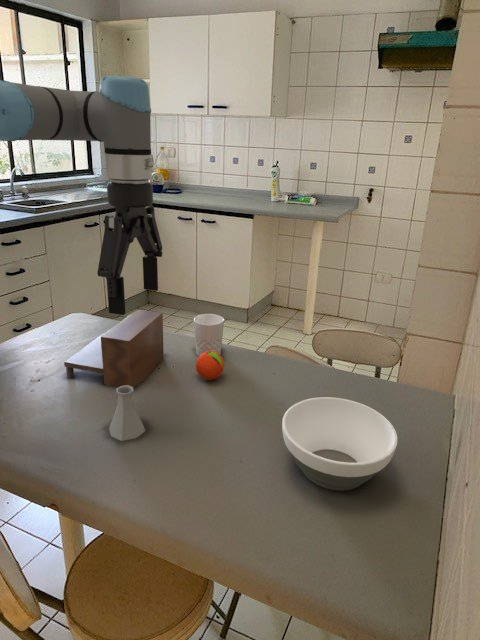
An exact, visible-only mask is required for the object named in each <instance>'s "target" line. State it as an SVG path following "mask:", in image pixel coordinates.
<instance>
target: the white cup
mask: <svg viewBox="0 0 480 640" xmlns="http://www.w3.org/2000/svg"><path fill="white" fill-rule="evenodd" d="M224 323H225V318H224V317H223V316H221V315H219V314H215V313H202V314H198V315H196V316H195V317H193V330H194V332H193V333H194V343H195V344H194V345H195V354H196V355H197V356H198V357H199V356H200V355H201V354H202V353H204V352H206V351H214V352H216V353H218V354H219V355H220V356H221V354H222V345H223V337H224Z"/></svg>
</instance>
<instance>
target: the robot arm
mask: <svg viewBox="0 0 480 640" xmlns="http://www.w3.org/2000/svg"><path fill="white" fill-rule="evenodd" d="M151 114H152V108H151V100H150V89H149V85H148V83H147V82H146V81H145V80H144V79H143V78H139V77H134V76H133V77H132V76H124V75H107V76H106V75H105V76H102V77H101V78H100V81H99V89H98V90H95V91H87V90H86V91H85V90H72V89H71V90H70V89H64V88H57V87H48V86H40V85H32V84H25V83H19V82H11V81H9V80H5V79H4V80H3V79H0V142H16V141H66V142H67V141H83V142H84V141H87V142H102V143H103V150H104V164H105V165H104V166H105V178H106V179H108V180H109V181H107V183H106V197H107V203H108V205H109V206H111V207H113V208H115V213H114V215H111V214H110V215H109V214H106V215H105V216H104V231H103V236H102V237H103V238H102V243H101V249H100V254H99V261H98V267H97V273H96V274H97V276H98V277H101V278H105V279H106V290H107V304H108V313H109V314H114V315H122V316H124V315H125V314H126V299H125V298H126V297H125V295H126V294H125V280H124V279H125V278H124V276H121V275H122V272H123V268H124V265H125V261H126V258H127V255H128V251H129V249H130V244H132V243H133V242H134V241H135V238H136V240H137V242H138V244H139V247H140V248H141V250H142V252H143V253H144V255H145V256H142V278H143V279H142V280H143V290H146V291H154V292H158V290H159V273H158V272H159V271H158V269H159V268H158V258H162V257H163V244H162V240H161V236H160V231H159V228H158V223H157V220H156V213H155V207H154V205H153V204H154V190H153V184H152V183H151V182H149V181H150V180H152V178H153V167H154V165H155V163H154V162H153V161H152V160H153V159H152V130H151V129H152V128H151V126H152V125H151Z"/></svg>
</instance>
